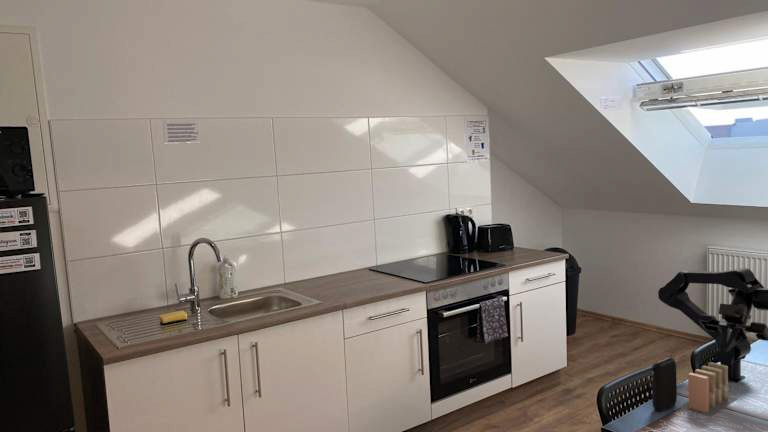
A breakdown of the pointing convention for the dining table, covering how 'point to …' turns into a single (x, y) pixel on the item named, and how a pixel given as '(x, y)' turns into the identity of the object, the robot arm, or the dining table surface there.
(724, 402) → the rubber mat
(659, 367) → the black upright slab
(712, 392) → the domino
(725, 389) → the domino
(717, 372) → the domino
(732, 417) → the dining table surface
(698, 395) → the domino
